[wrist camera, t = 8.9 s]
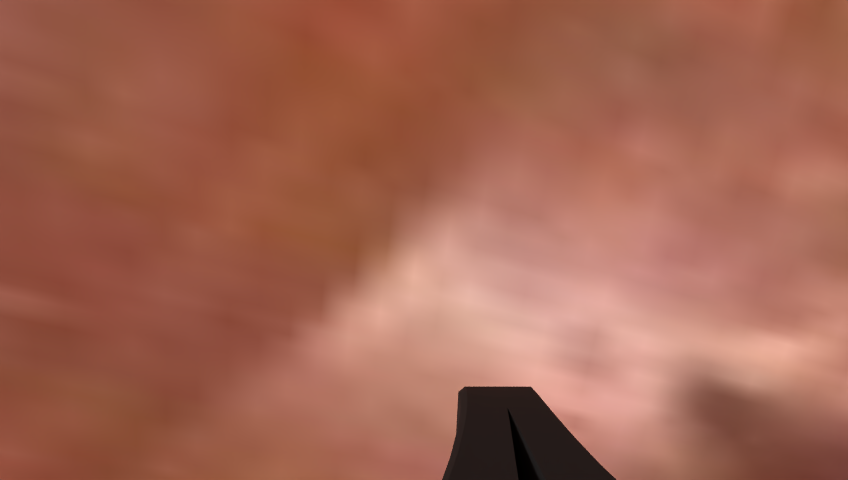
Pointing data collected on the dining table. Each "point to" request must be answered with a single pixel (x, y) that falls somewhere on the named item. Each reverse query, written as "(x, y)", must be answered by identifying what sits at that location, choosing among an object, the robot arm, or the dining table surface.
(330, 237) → the dining table surface
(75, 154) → the dining table surface
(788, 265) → the dining table surface
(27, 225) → the dining table surface
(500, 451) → the robot arm
